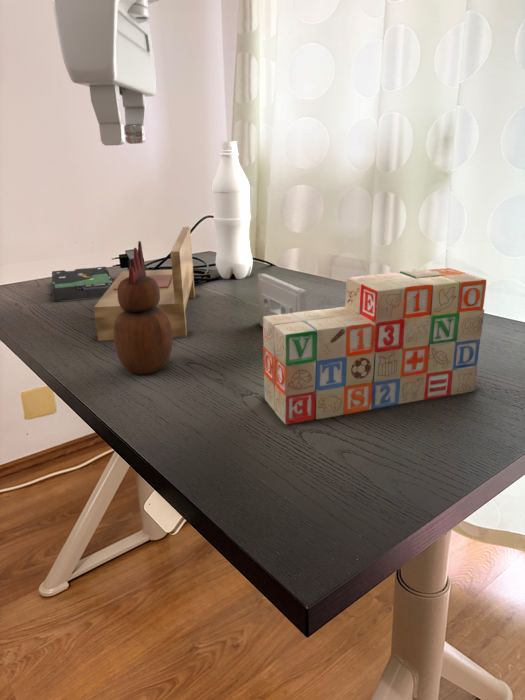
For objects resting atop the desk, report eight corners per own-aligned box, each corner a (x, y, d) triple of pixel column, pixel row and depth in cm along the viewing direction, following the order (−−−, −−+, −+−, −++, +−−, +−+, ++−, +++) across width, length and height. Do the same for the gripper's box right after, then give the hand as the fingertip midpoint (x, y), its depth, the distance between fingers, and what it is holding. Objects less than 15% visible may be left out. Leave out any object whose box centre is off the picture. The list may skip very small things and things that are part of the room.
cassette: (309, 348, 75) (309, 290, 73) (296, 350, 75) (296, 292, 72) (267, 323, 85) (266, 272, 83) (256, 325, 85) (254, 273, 82)
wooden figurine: (147, 356, 74) (134, 237, 69) (183, 364, 71) (173, 240, 66) (108, 375, 69) (92, 247, 63) (145, 384, 66) (131, 251, 61)
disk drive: (53, 285, 113) (54, 303, 99) (50, 271, 112) (51, 287, 99) (107, 279, 116) (116, 296, 103) (106, 265, 115) (114, 280, 102)
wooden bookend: (98, 342, 80) (86, 254, 76) (125, 299, 101) (117, 229, 96) (186, 338, 80) (179, 251, 76) (195, 297, 101) (190, 226, 97)
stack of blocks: (285, 427, 55) (283, 301, 51) (263, 401, 61) (260, 285, 56) (476, 392, 61) (488, 277, 57) (440, 371, 67) (449, 265, 63)
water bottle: (260, 276, 115) (256, 140, 106) (234, 283, 110) (227, 141, 101) (235, 271, 119) (229, 141, 110) (208, 277, 114) (200, 142, 106)
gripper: (103, 1, 60) (118, 143, 65) (28, -61, 41) (57, 147, 46) (164, -1, 60) (174, 142, 65) (118, -63, 41) (137, 145, 46)
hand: (125, 144), depth 55 cm, fingers open, 8 cm apart
